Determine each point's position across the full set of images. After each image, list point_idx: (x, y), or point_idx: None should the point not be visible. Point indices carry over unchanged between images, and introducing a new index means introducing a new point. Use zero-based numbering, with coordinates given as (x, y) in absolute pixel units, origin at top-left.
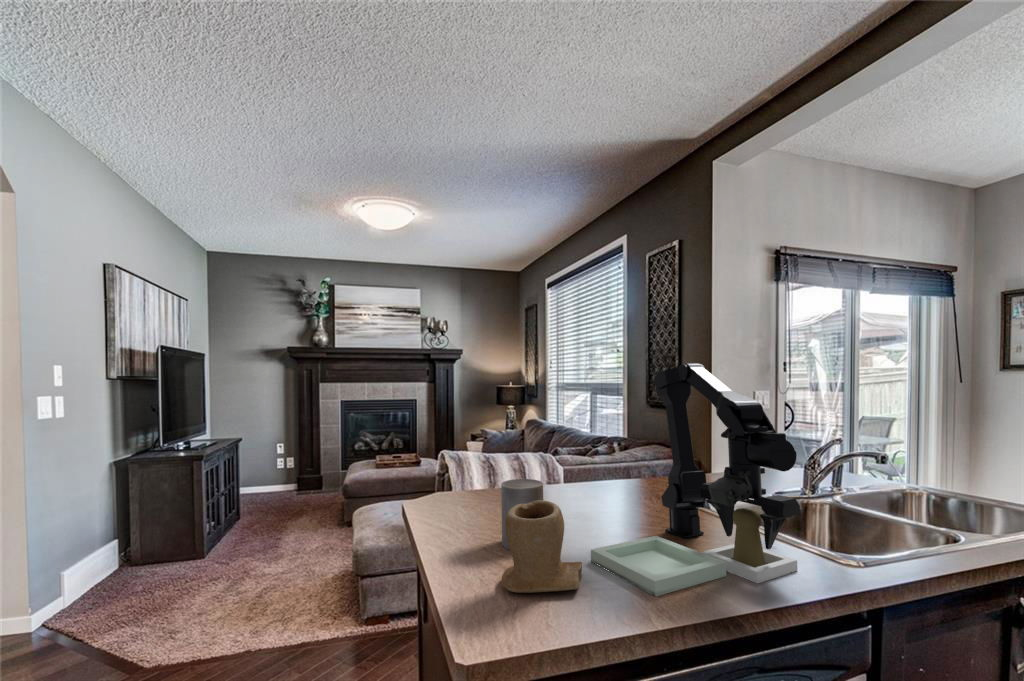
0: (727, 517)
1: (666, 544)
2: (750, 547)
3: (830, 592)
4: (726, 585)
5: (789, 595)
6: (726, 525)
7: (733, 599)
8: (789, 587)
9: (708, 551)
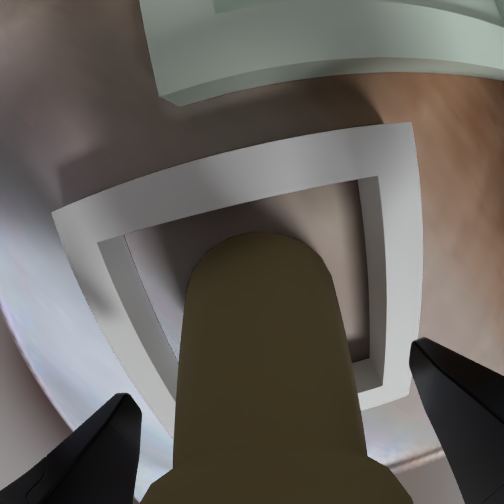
0: (480, 443)
1: (500, 27)
2: (185, 348)
3: (37, 360)
4: (96, 53)
5: (6, 242)
6: (454, 386)
7: (17, 37)
8: (51, 291)
9: (404, 156)
